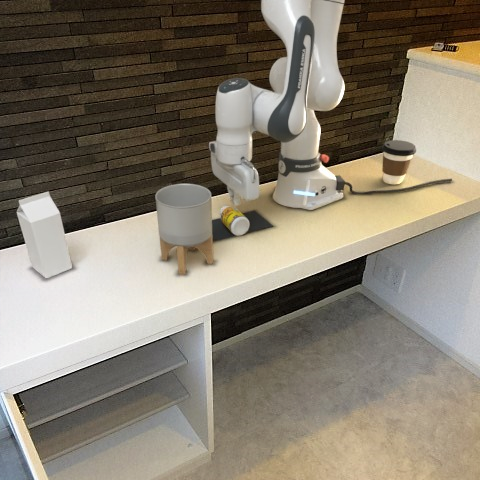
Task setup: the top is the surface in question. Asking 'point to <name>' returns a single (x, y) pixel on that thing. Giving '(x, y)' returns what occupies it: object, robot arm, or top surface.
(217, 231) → the rubber mat
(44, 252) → the milk carton
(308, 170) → the robot arm
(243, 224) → the supplement bottle
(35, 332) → the top surface
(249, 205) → the top surface
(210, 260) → the planter
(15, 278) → the top surface
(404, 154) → the coffee cup
